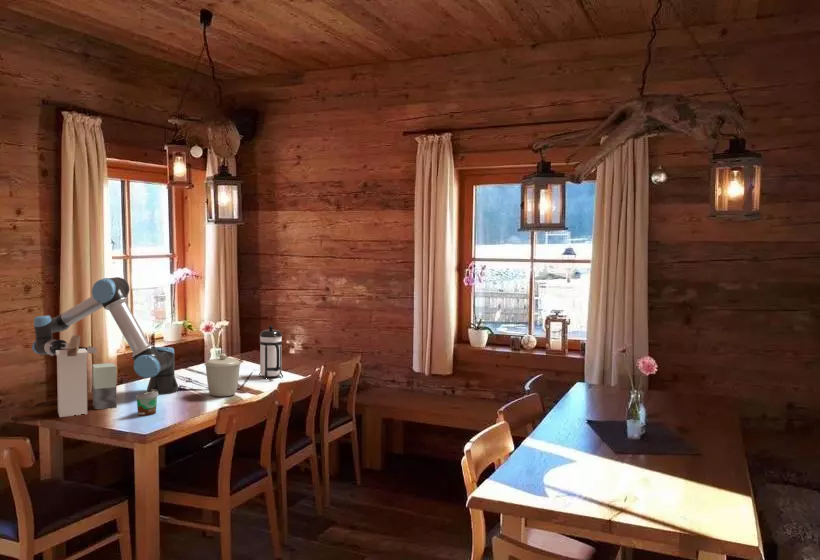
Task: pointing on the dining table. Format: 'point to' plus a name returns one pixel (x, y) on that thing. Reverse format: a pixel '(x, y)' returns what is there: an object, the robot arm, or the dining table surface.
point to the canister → (222, 375)
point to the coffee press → (270, 353)
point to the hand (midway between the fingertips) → (83, 348)
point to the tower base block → (104, 398)
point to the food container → (147, 403)
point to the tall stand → (72, 383)
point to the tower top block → (104, 375)
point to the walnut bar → (73, 346)
